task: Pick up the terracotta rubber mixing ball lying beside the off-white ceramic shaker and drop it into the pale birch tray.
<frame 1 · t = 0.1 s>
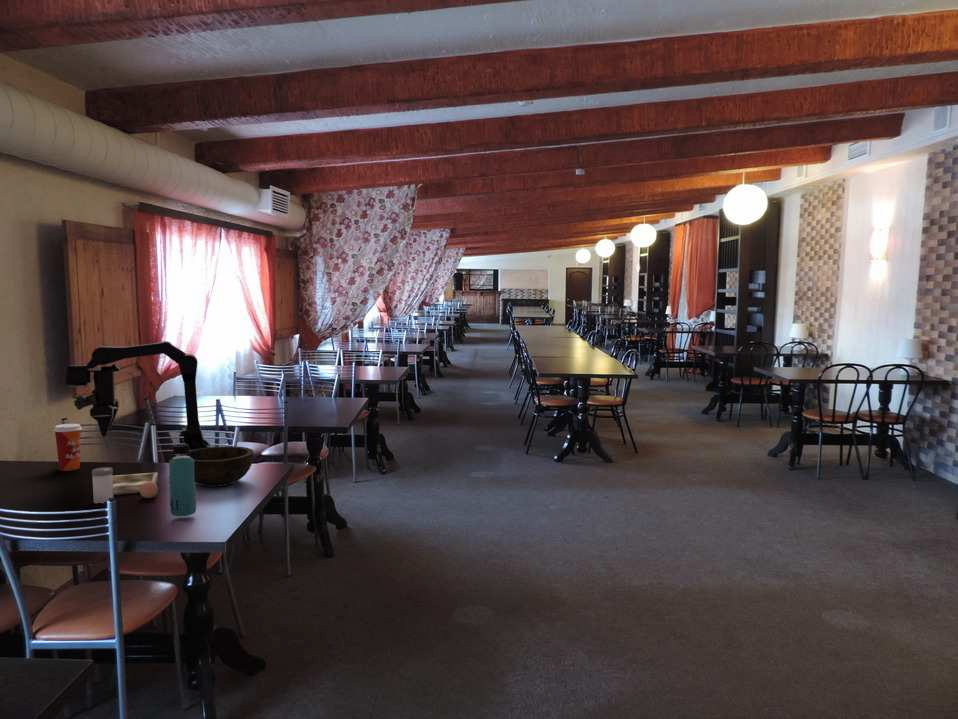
hand: (106, 433, 224), 15 cm above the table, fingers open, 9 cm apart
ball: (149, 497, 203), on the table
coffee cup: (69, 469, 237), on the table
bowl: (218, 485, 219), on the table
shaker: (103, 500, 200), on the table
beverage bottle: (183, 519, 185), on the table
tray: (127, 487, 214), on the table
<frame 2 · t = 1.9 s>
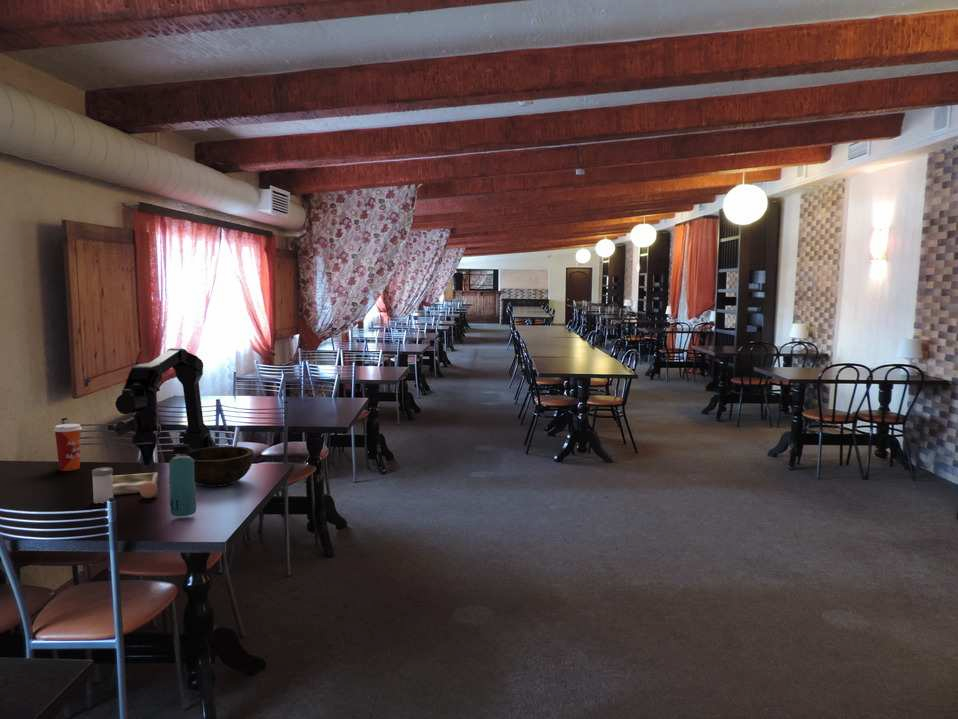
hand: (148, 461, 203), 11 cm above the table, fingers open, 9 cm apart
nothing on the table moved.
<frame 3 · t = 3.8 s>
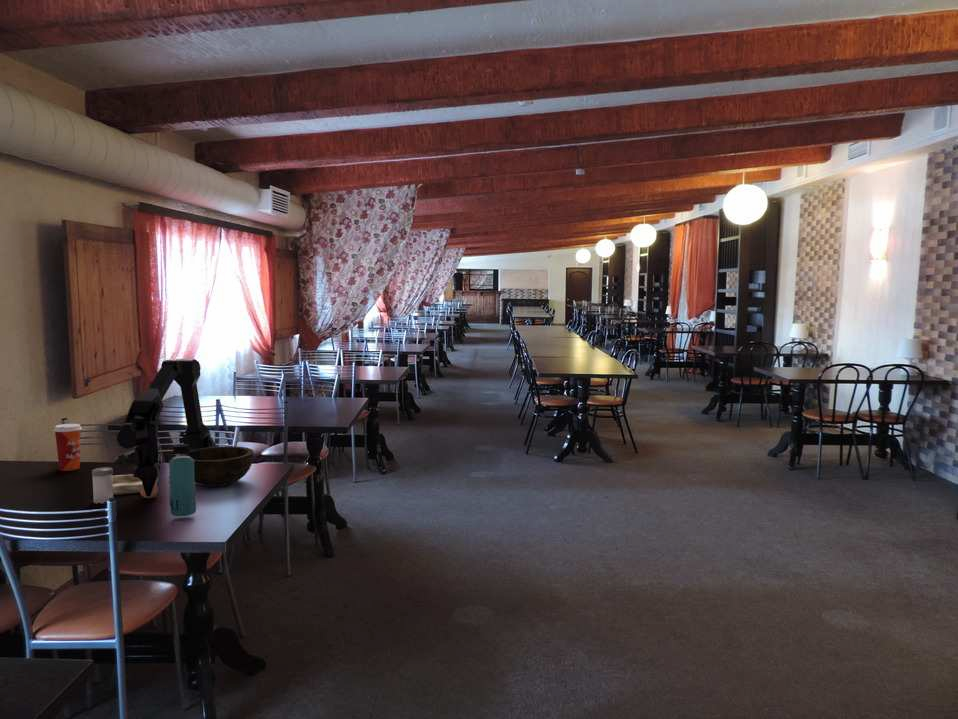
hand: (149, 493, 203), 1 cm above the table, fingers closed on ball, 5 cm apart
ball: (149, 497, 203), on the table, touching gripper
everything else where it was.
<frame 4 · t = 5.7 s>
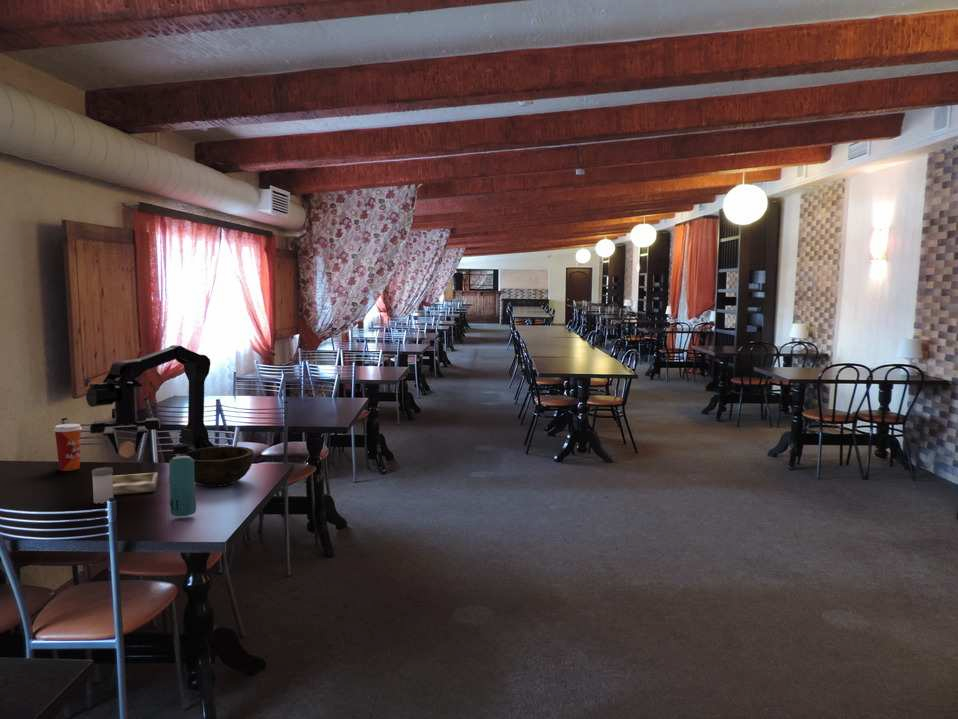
hand: (127, 453, 213), 11 cm above the table, fingers closed on ball, 5 cm apart
ball: (127, 457, 213), point 10 cm above the table, touching gripper
everything else where it was.
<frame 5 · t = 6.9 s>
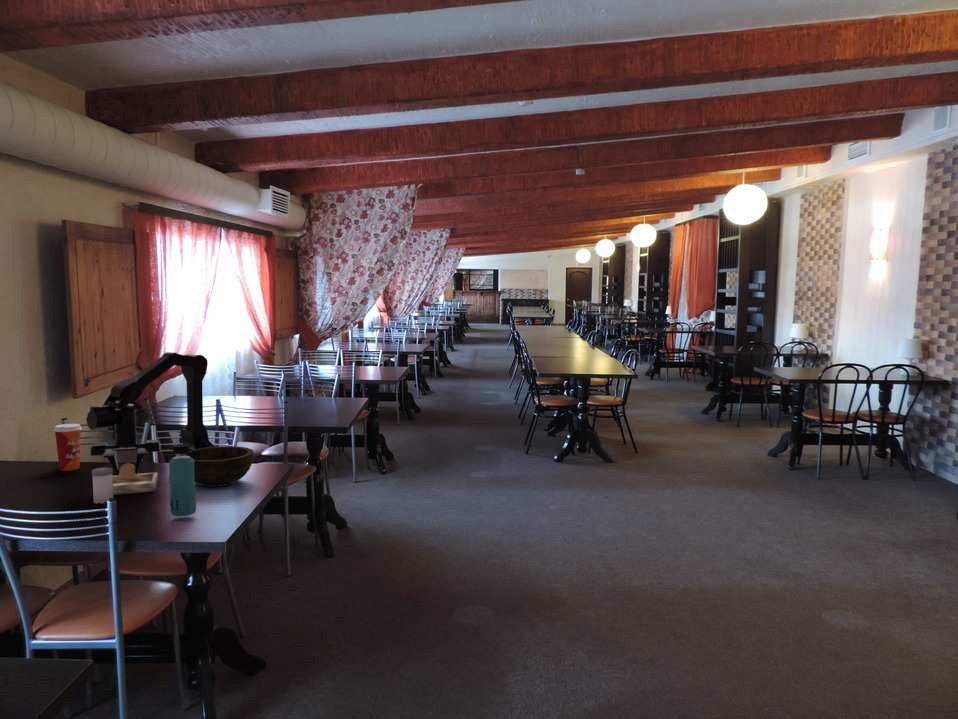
hand: (127, 475, 214), 4 cm above the table, fingers closed on ball, 5 cm apart
ball: (127, 478, 214), point 3 cm above the table, touching gripper
everything else where it was.
when the fingers open (4 cm above the table, at t = 7.5 s): ball drops 2 cm, resting on tray.
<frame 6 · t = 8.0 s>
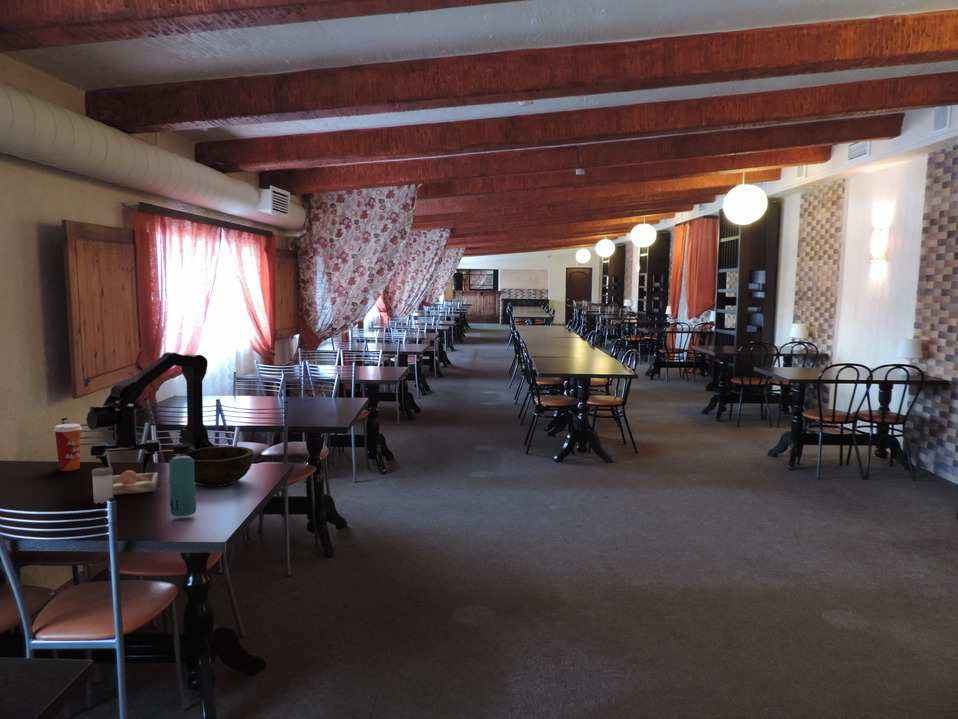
hand: (127, 475, 214), 4 cm above the table, fingers open, 9 cm apart
ball: (127, 485, 214), point 1 cm above the table, tilted 9°, touching tray
everything else where it was.
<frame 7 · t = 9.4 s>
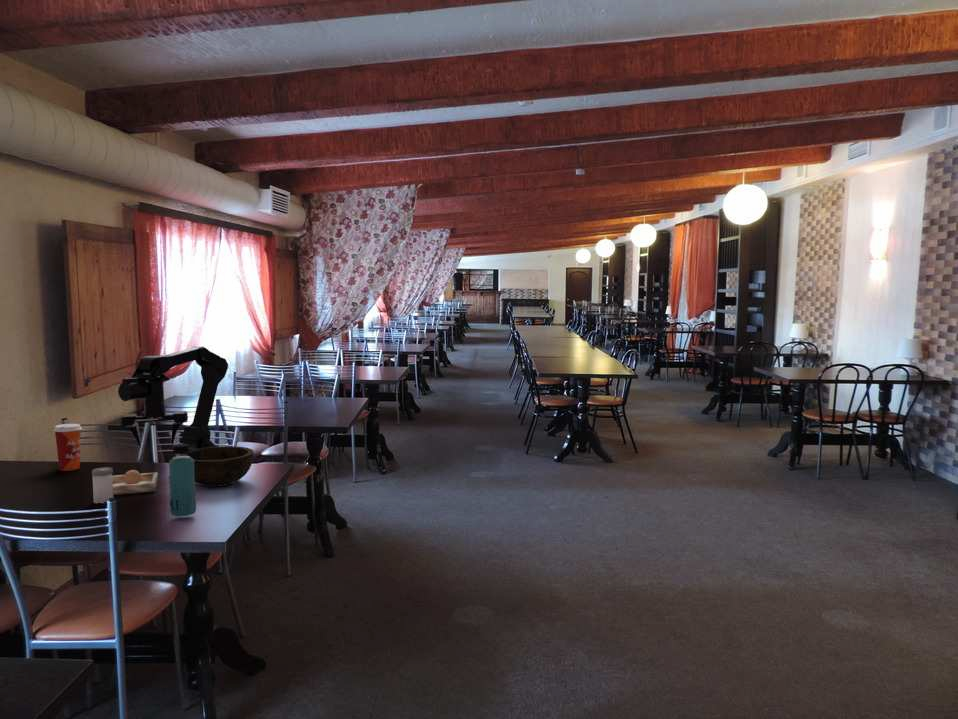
hand: (156, 445, 218), 12 cm above the table, fingers open, 9 cm apart
ball: (127, 484, 214), point 1 cm above the table, tilted 33°, touching tray
everything else where it was.
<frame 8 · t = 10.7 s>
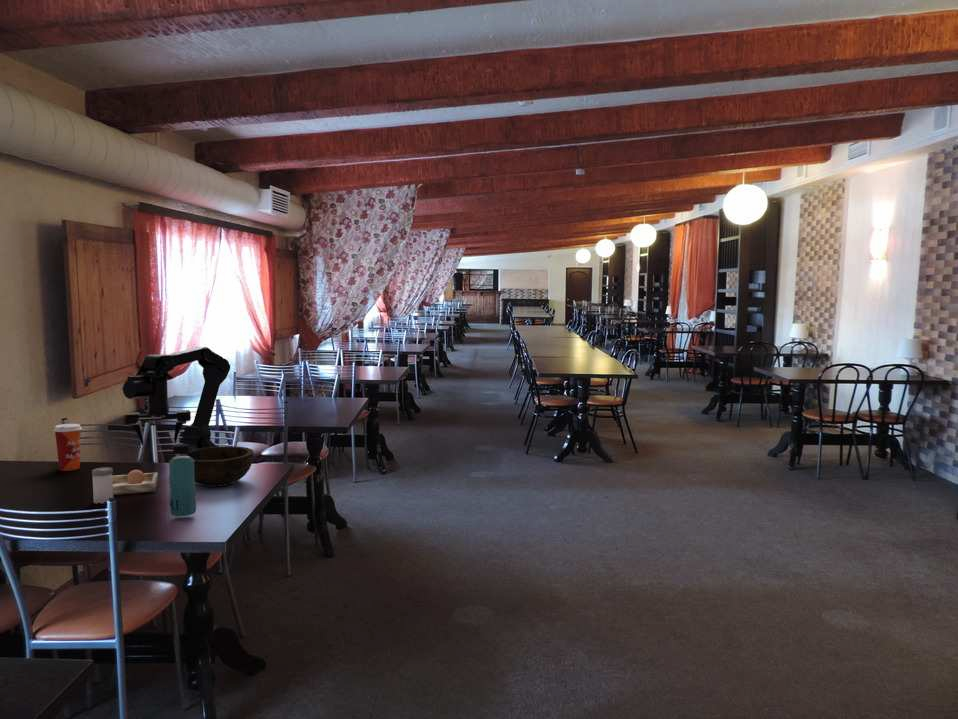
hand: (159, 444, 219), 13 cm above the table, fingers open, 9 cm apart
ball: (128, 482, 214), point 2 cm above the table, tilted 56°, touching tray
everything else where it was.
at the end: ball inside the target area on the tray (0.4 cm from its centre), point 1.8 cm above the tray's base; the gripper is holding nothing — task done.
